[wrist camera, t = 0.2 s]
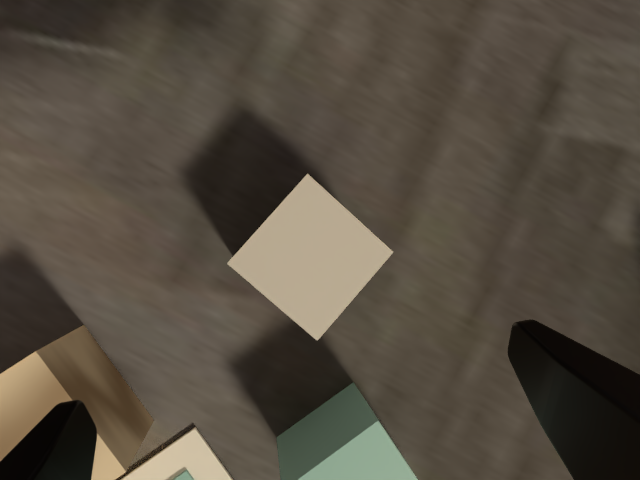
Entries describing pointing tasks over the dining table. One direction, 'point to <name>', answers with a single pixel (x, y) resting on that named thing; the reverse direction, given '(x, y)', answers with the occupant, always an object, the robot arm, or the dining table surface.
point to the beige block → (310, 257)
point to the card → (182, 462)
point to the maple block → (74, 384)
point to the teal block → (341, 444)
